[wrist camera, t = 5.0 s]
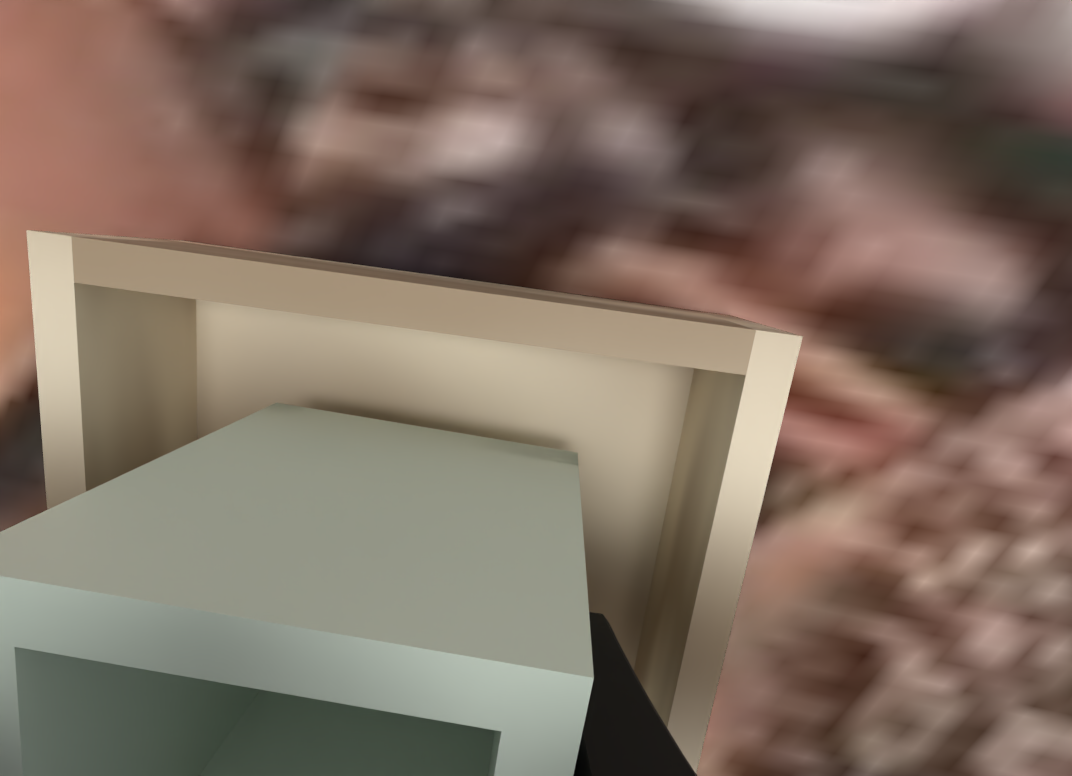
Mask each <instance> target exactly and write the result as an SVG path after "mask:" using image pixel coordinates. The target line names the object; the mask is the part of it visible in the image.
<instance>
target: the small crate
mask: <svg viewBox="0 0 1072 776" xmlns="http://www.w3.org/2000/svg"><path fill="white" fill-rule="evenodd" d="M593 680H594V673H593V659H592V645H591V632H590V618H589V604H588V590H587V577H586V563H585V549H584V536H583V522H582V508H581V494H580V481H579V467H578V453H577V452H572V451H566V450H560V449H554V448H548V447H542V446H535V445H529V444H523V443H517V442H511V441H505V440H499V439H493V438H487V437H481V436H475V435H469V434H463V433H457V432H451V431H445V430H439V429H433V428H427V427H421V426H415V425H409V424H403V423H397V422H391V421H385V420H379V419H373V418H367V417H361V416H355V415H349V414H343V413H337V412H330V411H324V410H318V409H312V408H306V407H300V406H294V405H288V404H282V403H275V404H272V405H270V406H268V407H266V408H264V409H262V410H260V411H257V412H255V413H253V414H251V415H249V416H247V417H245V418H242V419H240V420H238V421H236V422H234V423H232V424H230V425H228V426H225V427H223V428H221V429H219V430H217V431H215V432H213V433H210V434H208V435H206V436H204V437H202V438H200V439H198V440H196V441H193V442H191V443H189V444H187V445H185V446H183V447H181V448H178V449H176V450H174V451H172V452H170V453H168V454H166V455H164V456H161V457H159V458H157V459H155V460H153V461H151V462H149V463H146V464H144V465H142V466H140V467H138V468H136V469H134V470H131V471H129V472H127V473H125V474H123V475H121V476H119V477H117V478H114V479H112V480H110V481H108V482H106V483H104V484H102V485H99V486H97V487H95V488H93V489H91V490H89V491H87V492H85V493H82V494H80V495H78V496H76V497H74V498H72V499H70V500H67V501H65V502H63V503H61V504H59V505H57V506H55V507H52V508H50V509H48V510H46V511H44V512H42V513H40V514H38V515H35V516H33V517H31V518H29V519H27V520H25V521H23V522H20V523H18V524H16V525H14V526H12V527H10V528H8V529H6V530H3V531H1V532H0V776H573V775H574V770H575V765H576V760H577V756H578V751H579V746H580V742H581V737H582V732H583V727H584V723H585V718H586V713H587V708H588V704H589V699H590V694H591V689H592V685H593Z"/></svg>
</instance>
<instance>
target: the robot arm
mask: <svg viewBox="0 0 1072 776" xmlns="http://www.w3.org/2000/svg"><path fill="white" fill-rule="evenodd" d="M589 618H590V632H591V645H592V659H593V673H594V680H593V685H592V689H591V694H590V699H589V704H588V708H587V713H586V718H585V723H584V727H583V732H582V737H581V742H580V746H579V751H578V756H577V760H576V765H575V770H574V775H573V776H697V775H696V773H695V772H694V770H693V769H692V767H691V765H690V764H689V762H688V761H687V759H686V758H685V756H684V755H683V753H682V751H681V750H680V748H679V747H678V745H677V743H676V742H675V740H674V738H673V737H672V735H671V733H670V732H669V730H668V729H667V727H666V725H665V724H664V722H663V720H662V719H661V717H660V715H659V714H658V712H657V710H656V709H655V707H654V705H653V704H652V702H651V700H650V699H649V697H648V695H647V693H646V692H645V690H644V688H643V686H642V685H641V683H640V681H639V679H638V677H637V676H636V674H635V672H634V670H633V668H632V666H631V665H630V663H629V661H628V659H627V657H626V655H625V653H624V651H623V650H622V648H621V646H620V644H619V642H618V640H617V638H616V636H615V634H614V632H613V630H612V628H611V626H610V624H609V622H608V620H607V619H606V618H605V616H604V615H603V614H600V613H593V612H589Z"/></svg>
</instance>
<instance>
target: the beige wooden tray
mask: <svg viewBox="0 0 1072 776" xmlns="http://www.w3.org/2000/svg"><path fill="white" fill-rule="evenodd" d="M27 243H28V257H29V270H30V284H31V297H32V311H33V324H34V338H35V351H36V364H37V378H38V391H39V405H40V418H41V432H42V445H43V459H44V472H45V485H46V499H47V510H48V509H50V508H52V507H55V506H57V505H59V504H61V503H63V502H65V501H67V500H70V499H72V498H74V497H76V496H78V495H80V494H82V493H85V492H87V491H89V490H91V489H93V488H95V487H97V486H99V485H102V484H104V483H106V482H108V481H110V480H112V479H114V478H117V477H119V476H121V475H123V474H125V473H127V472H129V471H131V470H134V469H136V468H138V467H140V466H142V465H144V464H146V463H149V462H151V461H153V460H155V459H157V458H159V457H161V456H164V455H166V454H168V453H170V452H172V451H174V450H176V449H178V448H181V447H183V446H185V445H187V444H189V443H191V442H193V441H196V440H198V439H200V438H202V437H204V436H206V435H208V434H210V433H213V432H215V431H217V430H219V429H221V428H223V427H225V426H228V425H230V424H232V423H234V422H236V421H238V420H240V419H242V418H245V417H247V416H249V415H251V414H253V413H255V412H257V411H260V410H262V409H264V408H266V407H268V406H270V405H272V404H275V403H282V404H288V405H294V406H300V407H306V408H312V409H318V410H324V411H330V412H337V413H343V414H349V415H355V416H361V417H367V418H373V419H379V420H385V421H391V422H397V423H403V424H409V425H415V426H421V427H427V428H433V429H439V430H445V431H451V432H457V433H463V434H469V435H475V436H481V437H487V438H493V439H499V440H505V441H511V442H517V443H523V444H529V445H535V446H542V447H548V448H554V449H560V450H566V451H572V452H577V453H578V467H579V481H580V494H581V508H582V522H583V536H584V549H585V563H586V577H587V590H588V604H589V612H593V613H600V614H603V615H604V616H605V618H606V619H607V620H608V622H609V624H610V626H611V628H612V630H613V632H614V634H615V636H616V638H617V640H618V642H619V644H620V646H621V648H622V650H623V651H624V653H625V655H626V657H627V659H628V661H629V663H630V665H631V666H632V668H633V670H634V672H635V674H636V676H637V677H638V679H639V681H640V683H641V685H642V686H643V688H644V690H645V692H646V693H647V695H648V697H649V699H650V700H651V702H652V704H653V705H654V707H655V709H656V710H657V712H658V714H659V715H660V717H661V719H662V720H663V722H664V724H665V725H666V727H667V729H668V730H669V732H670V733H671V735H672V737H673V738H674V740H675V742H676V743H677V745H678V747H679V748H680V750H681V751H682V753H683V755H684V756H685V758H686V759H687V761H688V762H689V764H690V765H691V767H692V769H693V770H694V772H695V773H696V772H697V768H698V764H699V760H700V756H701V752H702V748H703V743H704V739H705V735H706V731H707V727H708V723H709V719H710V715H711V711H712V707H713V702H714V698H715V694H716V690H717V686H718V682H719V678H720V674H721V670H722V665H723V661H724V657H725V653H726V649H727V645H728V641H729V637H730V633H731V628H732V624H733V620H734V616H735V612H736V608H737V604H738V600H739V596H740V592H741V587H742V583H743V579H744V575H745V571H746V567H747V563H748V559H749V555H750V550H751V546H752V542H753V538H754V534H755V530H756V526H757V522H758V518H759V514H760V509H761V505H762V501H763V497H764V493H765V489H766V485H767V481H768V477H769V472H770V468H771V464H772V460H773V456H774V452H775V448H776V444H777V440H778V435H779V431H780V427H781V423H782V419H783V415H784V411H785V407H786V403H787V399H788V394H789V390H790V386H791V382H792V378H793V374H794V370H795V366H796V362H797V357H798V353H799V349H800V345H801V341H802V337H803V336H799V335H796V334H793V333H789V332H786V331H782V330H779V329H775V328H772V327H769V326H765V325H762V324H758V323H755V322H751V321H748V320H745V319H741V318H738V317H734V316H730V315H723V314H716V313H708V312H701V311H694V310H686V309H679V308H672V307H665V306H657V305H650V304H643V303H635V302H628V301H621V300H613V299H606V298H599V297H591V296H584V295H577V294H569V293H562V292H555V291H547V290H540V289H533V288H526V287H518V286H511V285H504V284H496V283H489V282H482V281H474V280H467V279H460V278H452V277H445V276H438V275H430V274H423V273H416V272H408V271H401V270H394V269H387V268H379V267H372V266H365V265H357V264H350V263H343V262H335V261H328V260H321V259H313V258H306V257H299V256H291V255H284V254H277V253H269V252H262V251H255V250H248V249H240V248H233V247H226V246H218V245H211V244H204V243H196V242H189V241H182V240H167V239H152V238H137V237H122V236H107V235H92V234H77V233H62V232H47V231H32V230H27Z"/></svg>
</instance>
